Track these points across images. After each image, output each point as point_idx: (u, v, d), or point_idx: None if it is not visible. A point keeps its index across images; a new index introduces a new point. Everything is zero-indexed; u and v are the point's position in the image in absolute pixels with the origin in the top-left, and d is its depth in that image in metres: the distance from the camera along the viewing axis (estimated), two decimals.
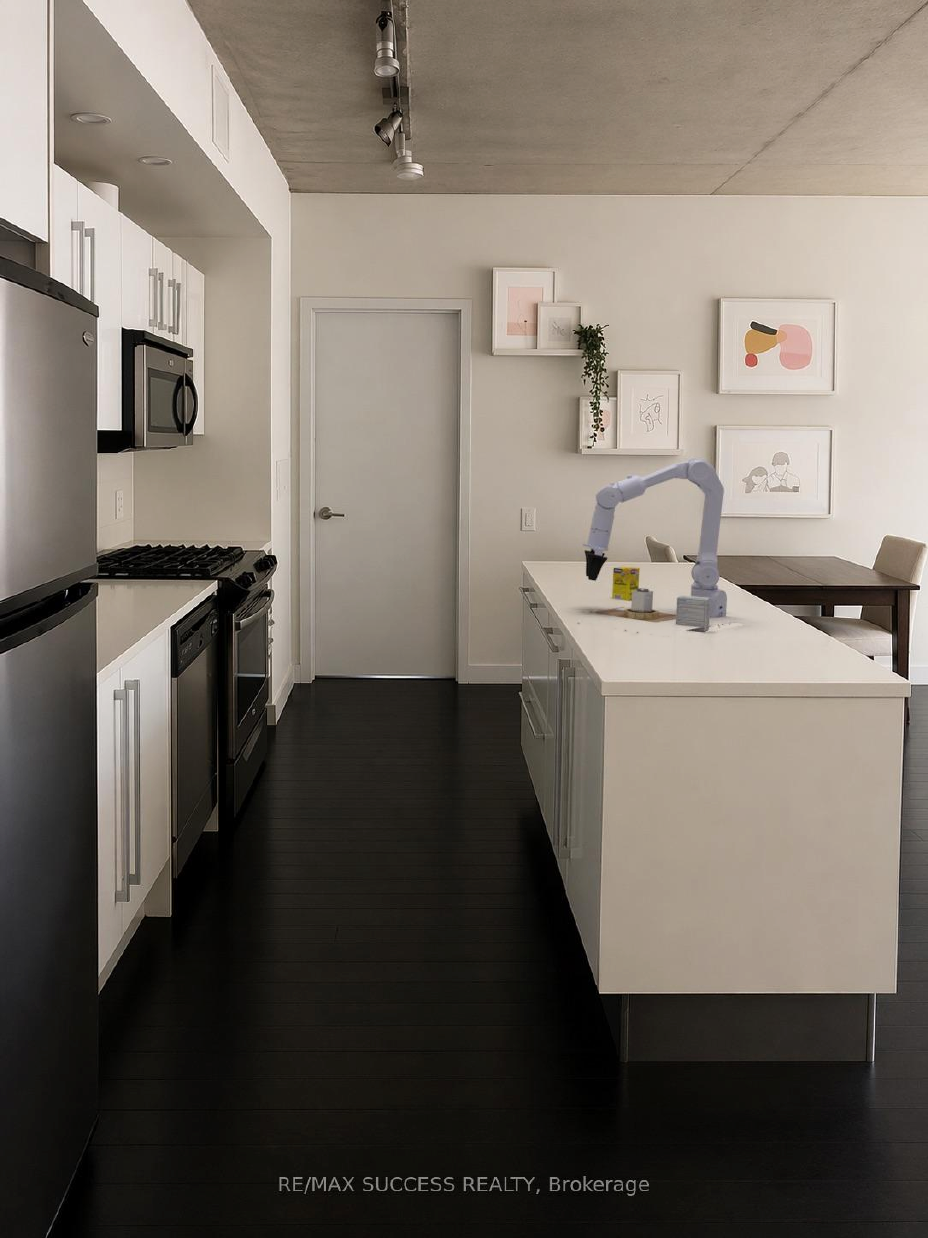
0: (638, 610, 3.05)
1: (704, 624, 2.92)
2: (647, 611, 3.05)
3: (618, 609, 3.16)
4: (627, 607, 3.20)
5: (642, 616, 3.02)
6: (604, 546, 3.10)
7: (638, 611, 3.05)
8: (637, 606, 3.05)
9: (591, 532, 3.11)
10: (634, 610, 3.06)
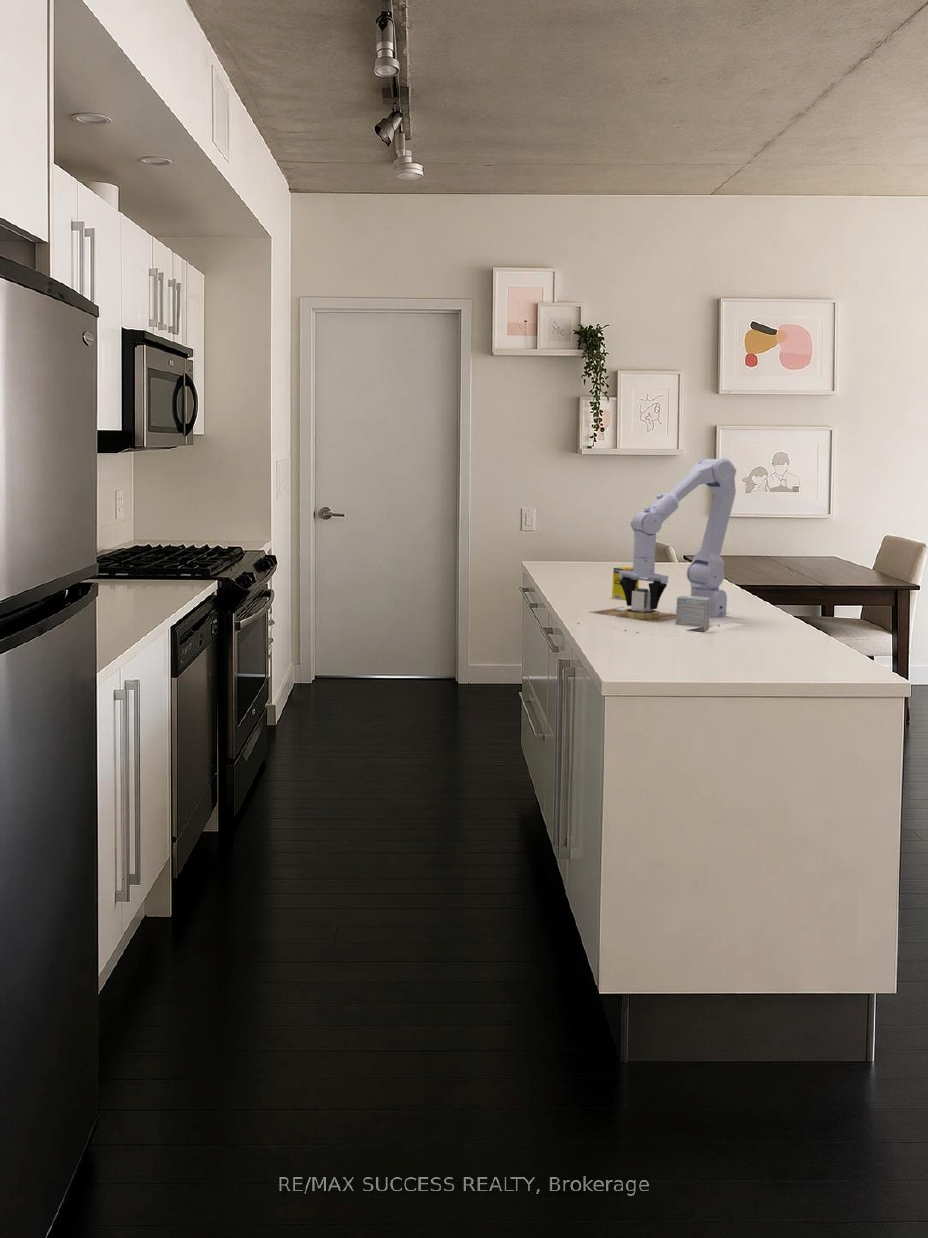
0: (638, 610, 3.05)
1: (704, 624, 2.92)
2: (647, 611, 3.05)
3: (618, 609, 3.16)
4: (627, 607, 3.20)
5: (642, 616, 3.02)
6: None
7: (638, 611, 3.05)
8: (637, 606, 3.05)
9: (642, 561, 3.02)
10: (634, 610, 3.06)
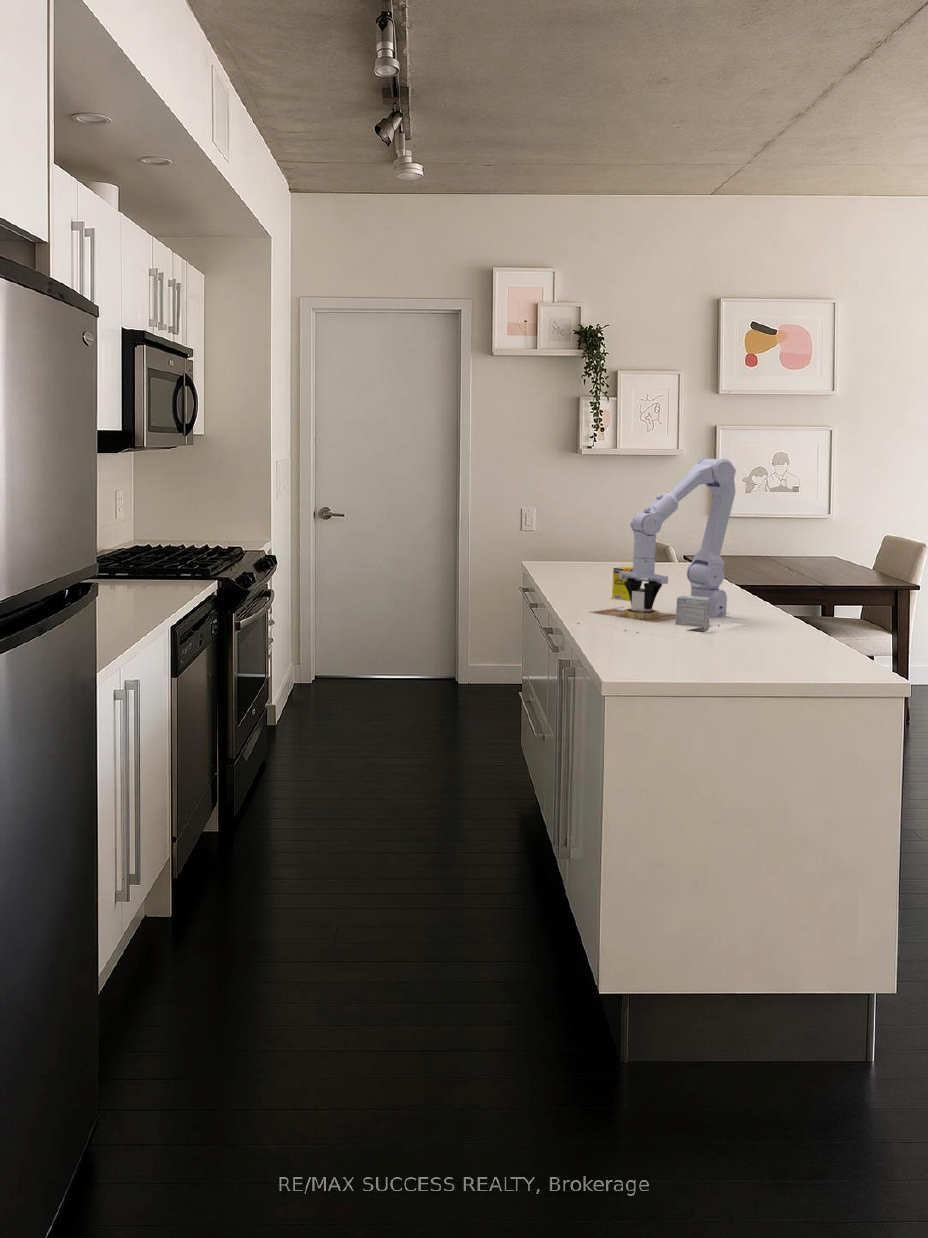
0: (638, 610, 3.05)
1: (704, 624, 2.92)
2: (647, 611, 3.05)
3: (618, 609, 3.16)
4: (627, 607, 3.20)
5: (642, 616, 3.02)
6: None
7: (638, 611, 3.05)
8: (637, 606, 3.05)
9: (642, 562, 3.02)
10: (634, 610, 3.06)
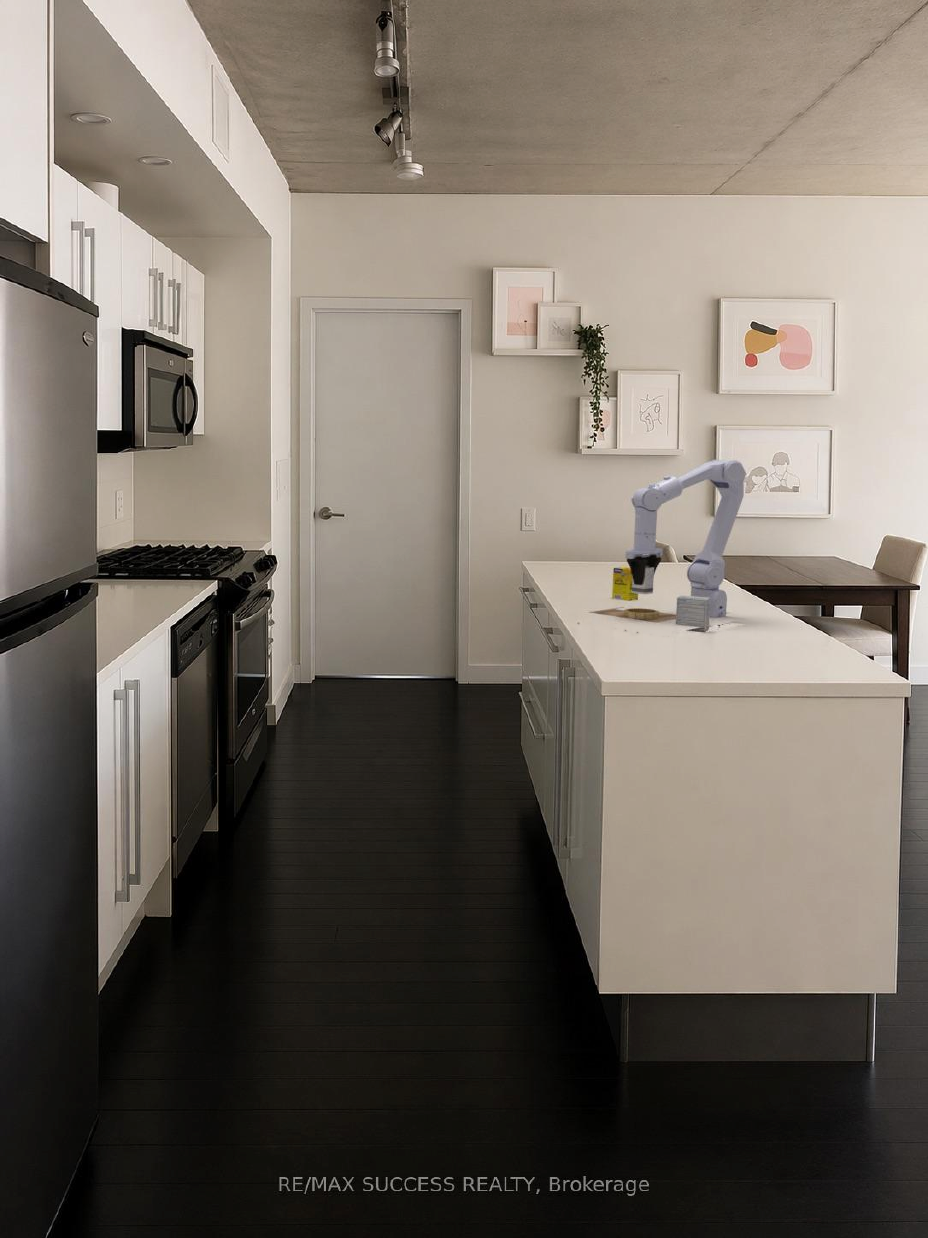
0: (649, 586, 3.04)
1: (704, 624, 2.92)
2: None
3: (618, 609, 3.16)
4: (627, 607, 3.20)
5: (642, 616, 3.02)
6: None
7: (649, 587, 3.04)
8: (649, 582, 3.04)
9: (655, 537, 3.03)
10: (646, 587, 3.04)
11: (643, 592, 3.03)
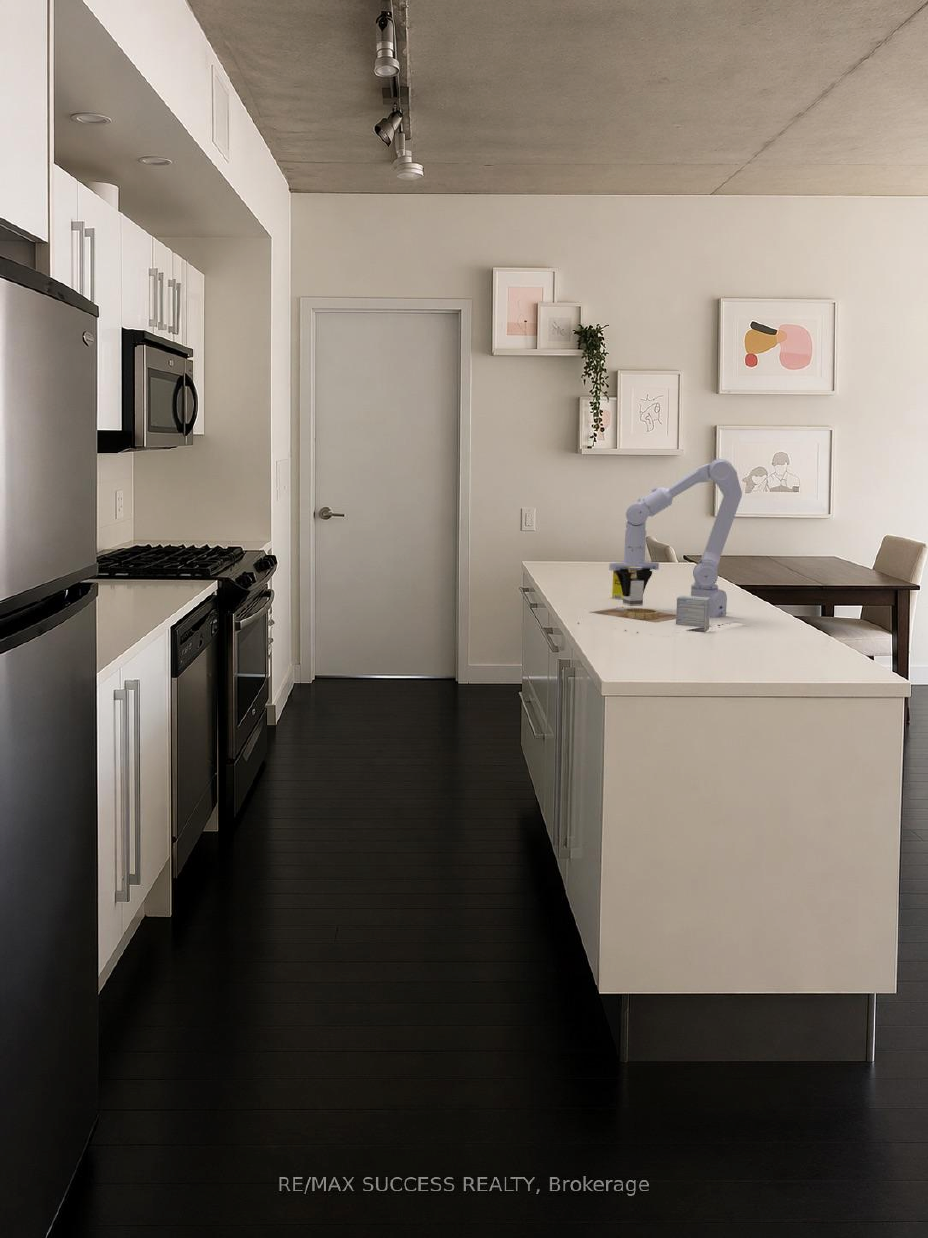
0: (637, 598, 3.15)
1: (704, 624, 2.92)
2: None
3: (618, 609, 3.16)
4: (627, 607, 3.20)
5: (642, 616, 3.02)
6: None
7: (637, 599, 3.15)
8: (636, 595, 3.14)
9: (643, 551, 3.13)
10: (633, 599, 3.14)
11: (629, 604, 3.14)
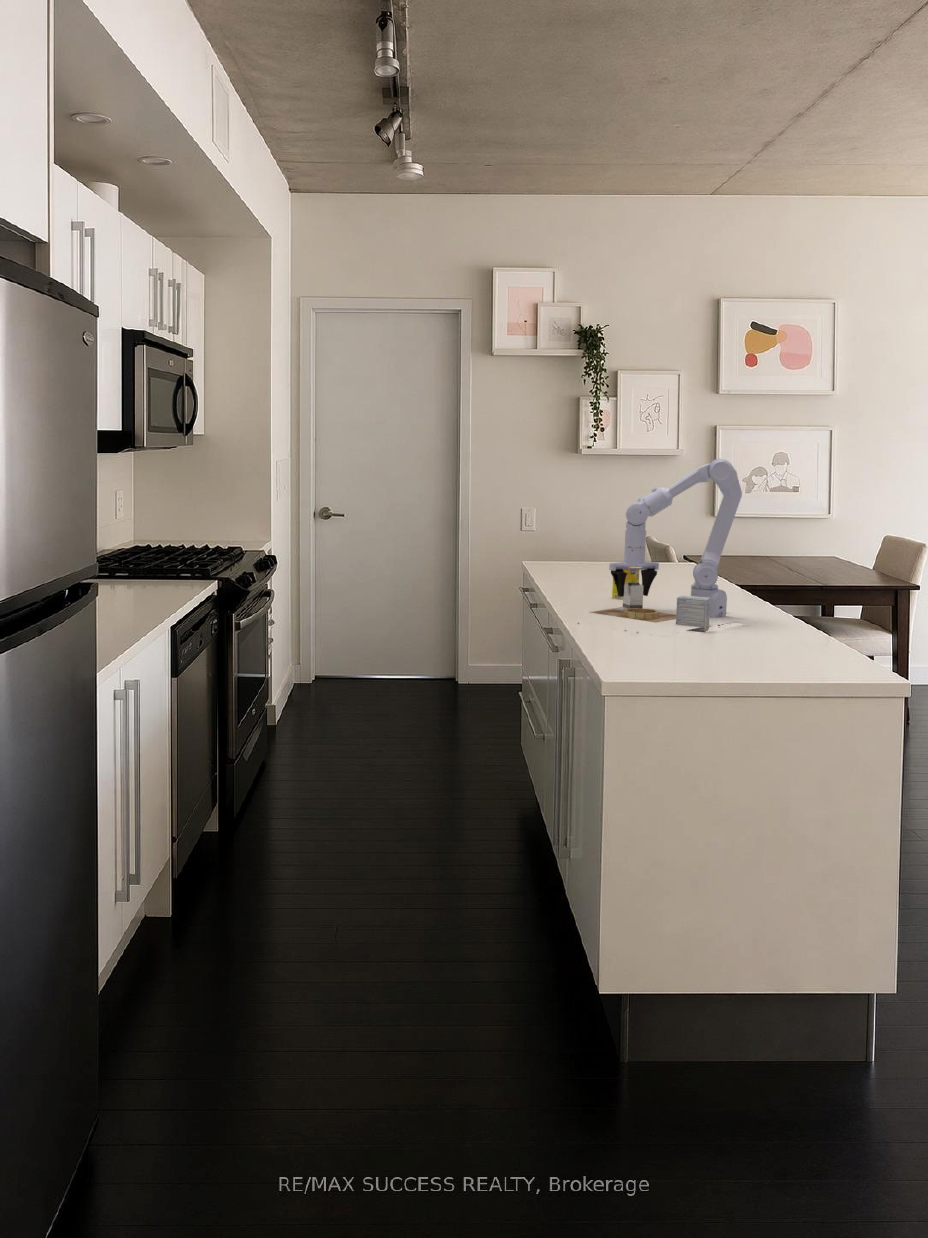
0: (637, 603, 3.15)
1: (704, 624, 2.92)
2: None
3: (618, 609, 3.16)
4: None
5: (642, 616, 3.02)
6: None
7: (637, 604, 3.15)
8: (636, 599, 3.15)
9: (643, 551, 3.13)
10: (633, 604, 3.14)
11: (629, 608, 3.14)
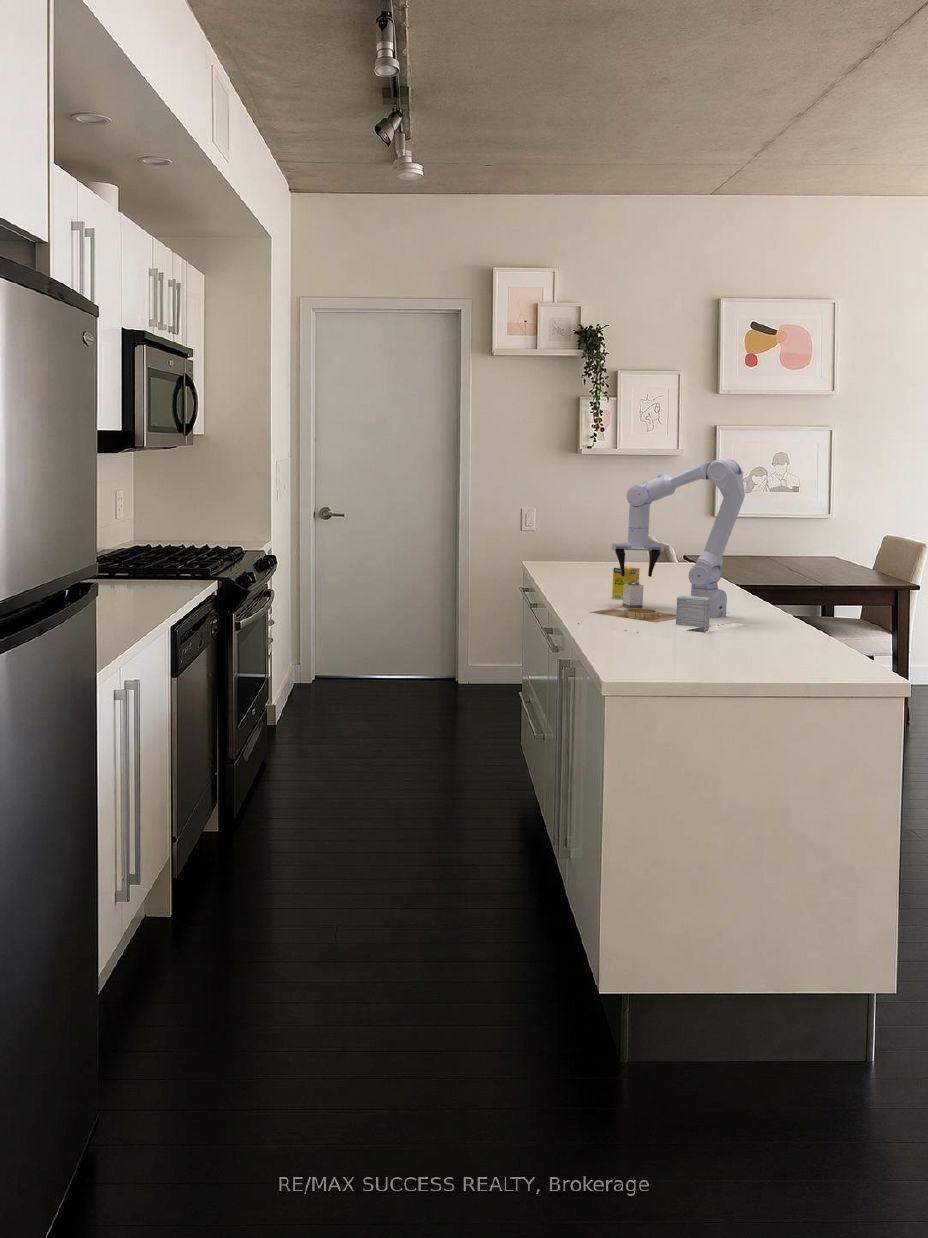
0: (637, 603, 3.15)
1: (704, 624, 2.92)
2: None
3: (618, 609, 3.16)
4: None
5: (642, 616, 3.02)
6: None
7: (637, 604, 3.15)
8: (636, 599, 3.15)
9: (644, 532, 3.19)
10: (633, 604, 3.14)
11: (629, 608, 3.14)
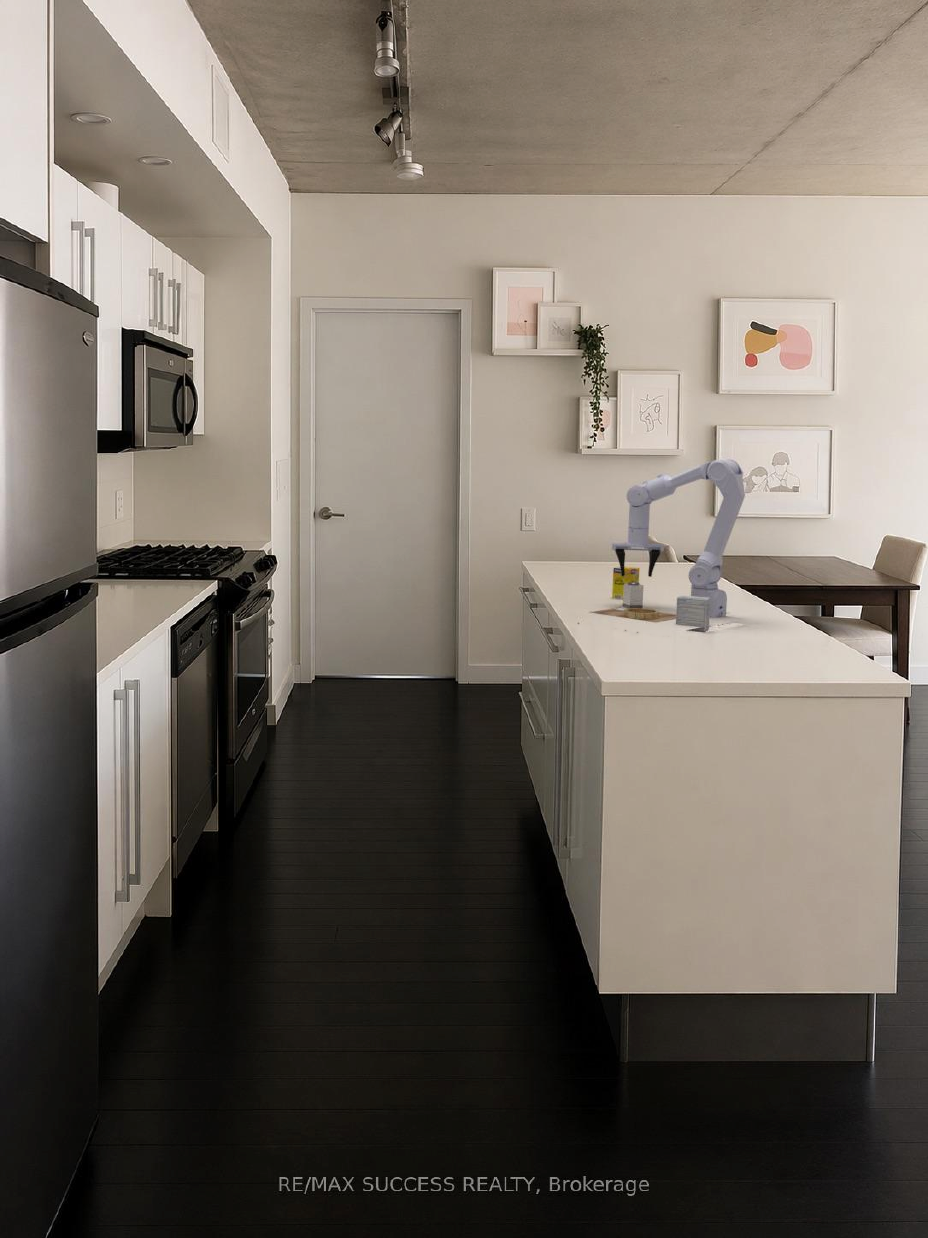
0: (637, 603, 3.15)
1: (704, 624, 2.92)
2: None
3: (618, 609, 3.16)
4: None
5: (642, 616, 3.02)
6: None
7: (637, 604, 3.15)
8: (636, 599, 3.15)
9: (644, 532, 3.19)
10: (633, 604, 3.14)
11: (629, 608, 3.14)
